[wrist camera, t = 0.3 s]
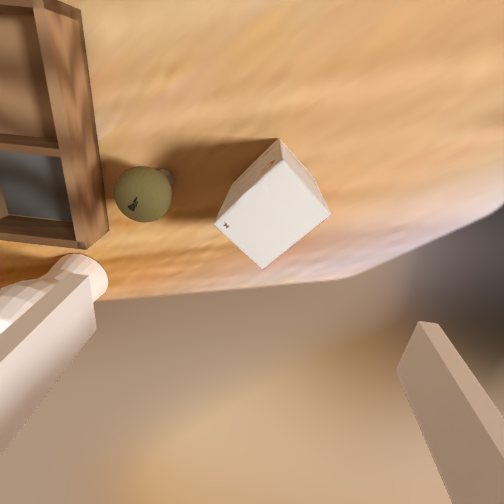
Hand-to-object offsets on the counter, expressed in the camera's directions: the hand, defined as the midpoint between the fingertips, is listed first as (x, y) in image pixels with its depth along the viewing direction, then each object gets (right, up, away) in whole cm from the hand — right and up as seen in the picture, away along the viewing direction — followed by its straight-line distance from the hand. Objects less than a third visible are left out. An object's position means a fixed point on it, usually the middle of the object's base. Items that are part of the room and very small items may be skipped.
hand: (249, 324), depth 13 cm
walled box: (-25, +17, +24) cm, 39 cm away
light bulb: (-10, +12, +26) cm, 30 cm away
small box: (+3, +12, +25) cm, 28 cm away
